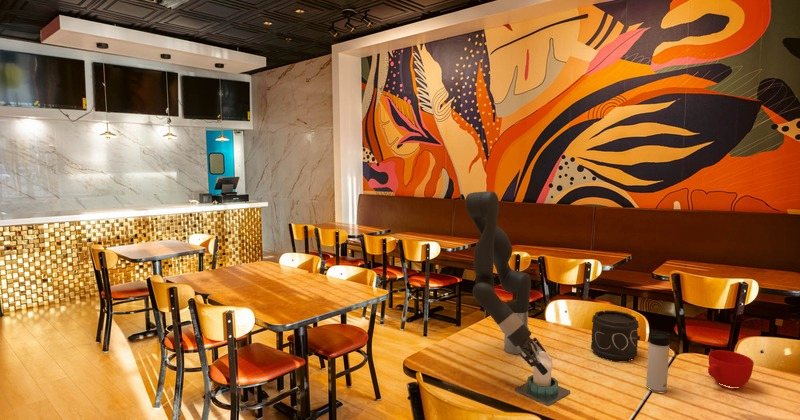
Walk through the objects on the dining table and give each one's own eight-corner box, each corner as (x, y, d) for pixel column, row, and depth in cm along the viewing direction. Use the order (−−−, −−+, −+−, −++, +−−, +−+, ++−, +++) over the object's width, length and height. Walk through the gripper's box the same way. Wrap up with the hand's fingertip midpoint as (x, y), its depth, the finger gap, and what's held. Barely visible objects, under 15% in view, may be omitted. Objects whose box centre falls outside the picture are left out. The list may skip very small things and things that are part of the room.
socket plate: (537, 379, 174) (537, 369, 174) (570, 393, 164) (570, 382, 164) (515, 391, 166) (515, 379, 165) (547, 406, 156) (548, 394, 155)
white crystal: (549, 346, 166) (555, 353, 161) (547, 380, 168) (553, 387, 162) (531, 347, 166) (537, 353, 160) (530, 380, 167) (536, 388, 162)
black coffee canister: (639, 366, 185) (642, 326, 183) (589, 358, 192) (591, 320, 190) (638, 349, 201) (640, 312, 199) (592, 342, 208) (593, 307, 207)
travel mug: (670, 394, 163) (673, 337, 161) (649, 392, 164) (652, 336, 162) (664, 386, 169) (667, 330, 167) (643, 384, 170) (646, 329, 168)
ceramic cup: (690, 382, 172) (692, 355, 171) (722, 373, 178) (724, 347, 177) (726, 398, 160) (729, 370, 159) (760, 389, 166) (762, 361, 165)
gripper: (515, 329, 160) (551, 372, 155) (528, 317, 172) (561, 356, 168) (500, 342, 163) (534, 384, 159) (513, 329, 176) (545, 367, 171)
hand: (547, 369), depth 163 cm, fingers closed on white crystal, 5 cm apart
